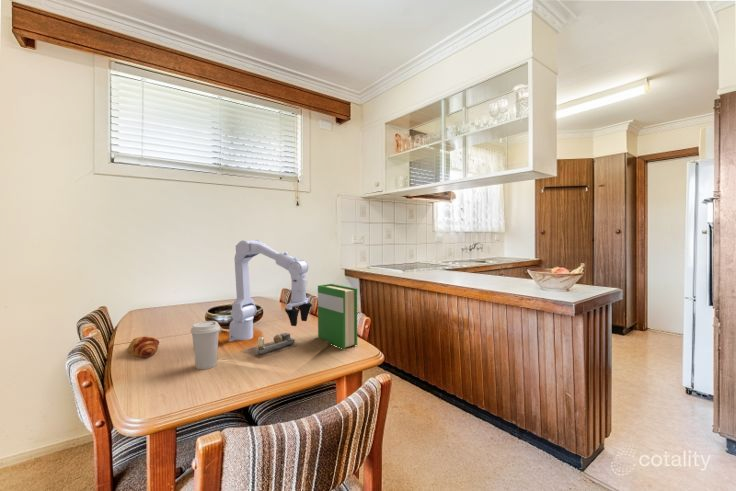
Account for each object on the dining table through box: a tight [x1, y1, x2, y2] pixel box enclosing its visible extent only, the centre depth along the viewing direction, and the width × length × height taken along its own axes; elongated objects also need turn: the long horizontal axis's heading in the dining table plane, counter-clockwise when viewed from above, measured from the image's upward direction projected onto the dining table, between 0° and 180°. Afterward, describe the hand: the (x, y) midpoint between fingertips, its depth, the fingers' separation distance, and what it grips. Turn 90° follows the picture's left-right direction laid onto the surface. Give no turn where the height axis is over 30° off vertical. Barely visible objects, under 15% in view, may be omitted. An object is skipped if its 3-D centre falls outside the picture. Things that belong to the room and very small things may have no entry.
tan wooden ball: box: [273, 334, 283, 343], centre depth 136 cm, size 4×4×4 cm
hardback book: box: [317, 283, 358, 350], centre depth 140 cm, size 18×7×24 cm, turn 43°
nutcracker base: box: [241, 332, 301, 359], centre depth 131 cm, size 20×12×4 cm, turn 141°
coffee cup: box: [189, 320, 221, 370], centre depth 116 cm, size 10×10×15 cm
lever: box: [257, 336, 296, 354], centre depth 129 cm, size 16×2×6 cm, turn 141°
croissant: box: [127, 335, 160, 358], centre depth 130 cm, size 21×10×8 cm, turn 46°
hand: (299, 323), depth 134 cm, fingers open, 7 cm apart
